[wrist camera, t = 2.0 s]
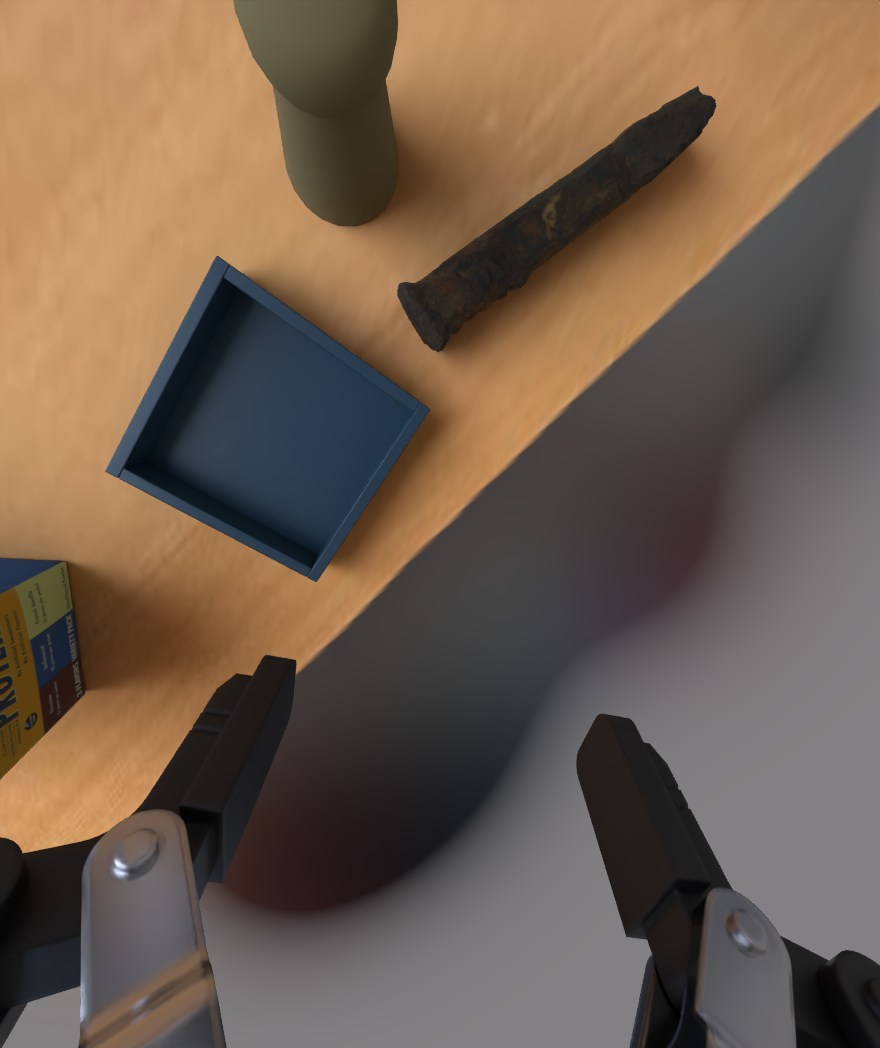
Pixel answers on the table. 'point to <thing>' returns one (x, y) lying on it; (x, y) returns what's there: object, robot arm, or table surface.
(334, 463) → the caddy
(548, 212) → the rusty railroad spike
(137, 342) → the table surface
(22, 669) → the protein box
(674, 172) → the table surface
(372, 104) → the cork
